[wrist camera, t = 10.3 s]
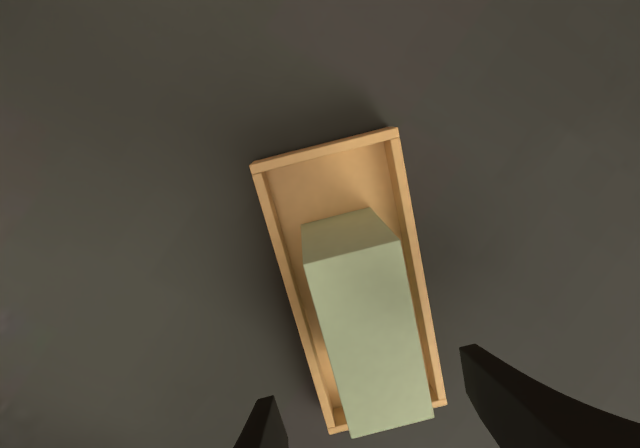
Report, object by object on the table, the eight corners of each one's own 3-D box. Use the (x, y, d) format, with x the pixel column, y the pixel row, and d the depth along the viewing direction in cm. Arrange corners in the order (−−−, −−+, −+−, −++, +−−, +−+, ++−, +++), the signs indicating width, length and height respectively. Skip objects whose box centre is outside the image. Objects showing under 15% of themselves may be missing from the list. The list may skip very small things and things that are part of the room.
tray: (435, 383, 24) (447, 405, 22) (326, 411, 24) (329, 435, 22) (388, 126, 19) (397, 126, 18) (252, 161, 19) (248, 165, 18)
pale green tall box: (374, 205, 20) (407, 238, 14) (402, 341, 23) (440, 416, 17) (300, 224, 20) (302, 264, 14) (336, 358, 23) (351, 439, 17)
